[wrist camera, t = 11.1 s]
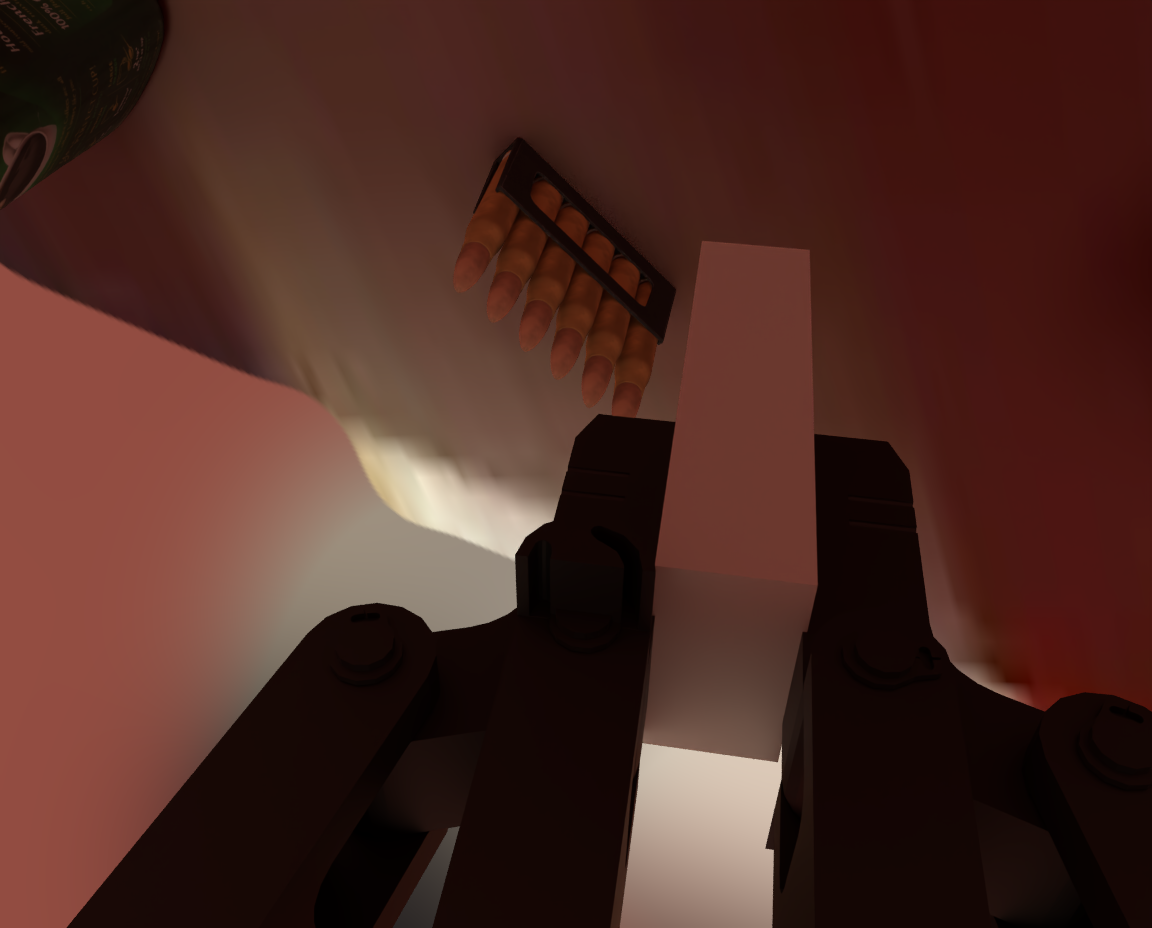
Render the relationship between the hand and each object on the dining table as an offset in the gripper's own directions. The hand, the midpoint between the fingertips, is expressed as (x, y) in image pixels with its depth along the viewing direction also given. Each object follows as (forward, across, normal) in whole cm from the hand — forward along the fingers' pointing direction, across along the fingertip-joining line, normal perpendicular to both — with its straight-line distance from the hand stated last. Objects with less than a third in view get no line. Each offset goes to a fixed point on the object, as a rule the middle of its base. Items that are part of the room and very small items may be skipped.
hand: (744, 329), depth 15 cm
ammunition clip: (+33, +7, +15) cm, 37 cm away
